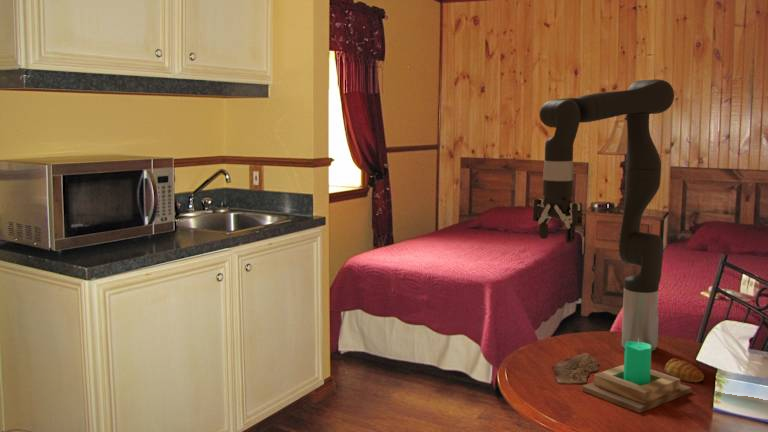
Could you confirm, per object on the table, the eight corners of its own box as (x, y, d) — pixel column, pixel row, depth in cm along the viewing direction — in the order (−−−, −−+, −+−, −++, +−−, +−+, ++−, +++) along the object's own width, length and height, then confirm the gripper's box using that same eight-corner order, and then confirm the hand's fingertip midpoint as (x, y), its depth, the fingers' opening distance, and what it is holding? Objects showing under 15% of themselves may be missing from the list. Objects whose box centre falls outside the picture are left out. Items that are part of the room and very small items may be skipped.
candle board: (632, 372, 179) (633, 358, 178) (690, 392, 166) (691, 377, 165) (582, 390, 168) (582, 376, 167) (639, 413, 155) (640, 397, 154)
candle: (618, 386, 167) (620, 338, 165) (630, 380, 171) (632, 333, 169) (643, 393, 162) (645, 344, 161) (654, 386, 167) (656, 338, 165)
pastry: (710, 381, 173) (711, 366, 173) (692, 386, 170) (693, 371, 170) (678, 369, 182) (679, 355, 181) (660, 374, 179) (661, 360, 178)
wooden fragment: (581, 389, 169) (581, 385, 169) (538, 380, 175) (538, 376, 175) (610, 358, 190) (610, 355, 190) (571, 351, 196) (571, 348, 196)
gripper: (590, 179, 174) (588, 242, 177) (546, 175, 186) (545, 235, 188) (570, 181, 170) (568, 246, 172) (527, 177, 182) (526, 238, 184)
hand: (556, 240), depth 180 cm, fingers open, 8 cm apart
